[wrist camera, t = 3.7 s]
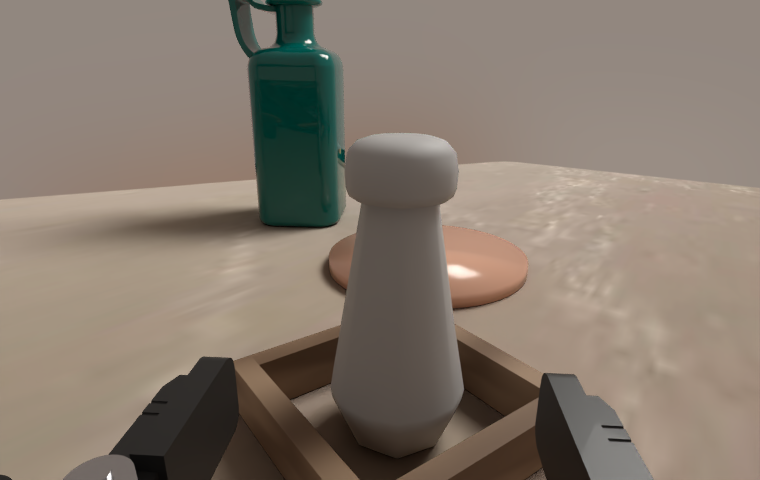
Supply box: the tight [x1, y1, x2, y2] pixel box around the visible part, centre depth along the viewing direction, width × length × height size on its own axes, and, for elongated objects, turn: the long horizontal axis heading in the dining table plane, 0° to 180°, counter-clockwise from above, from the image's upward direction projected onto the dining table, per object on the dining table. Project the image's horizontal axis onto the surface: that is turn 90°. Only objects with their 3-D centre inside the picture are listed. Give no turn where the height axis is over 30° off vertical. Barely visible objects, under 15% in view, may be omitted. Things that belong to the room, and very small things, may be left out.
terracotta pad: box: [329, 225, 528, 309], centre depth 41 cm, size 16×16×1 cm
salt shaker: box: [331, 133, 464, 459], centre depth 21 cm, size 6×6×13 cm
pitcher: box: [228, 0, 346, 227], centre depth 51 cm, size 10×8×22 cm
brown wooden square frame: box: [233, 324, 543, 480], centre depth 22 cm, size 11×11×2 cm
